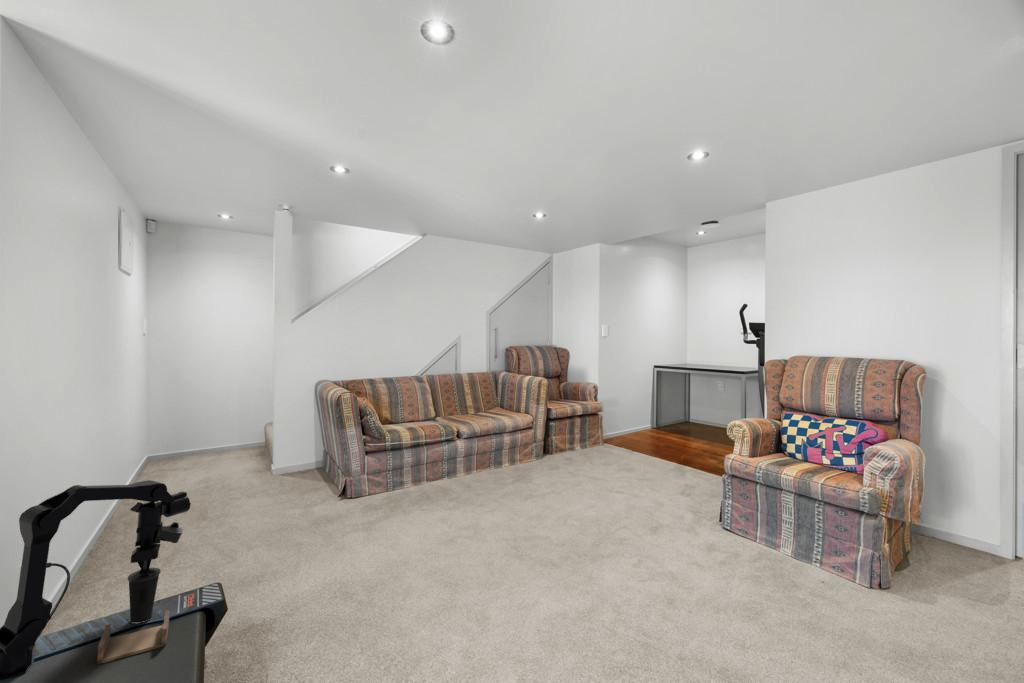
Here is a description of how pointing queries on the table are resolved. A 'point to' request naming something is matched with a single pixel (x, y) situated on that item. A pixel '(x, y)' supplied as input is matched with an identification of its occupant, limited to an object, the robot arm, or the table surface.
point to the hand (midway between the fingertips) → (145, 572)
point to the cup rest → (132, 642)
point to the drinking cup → (142, 592)
